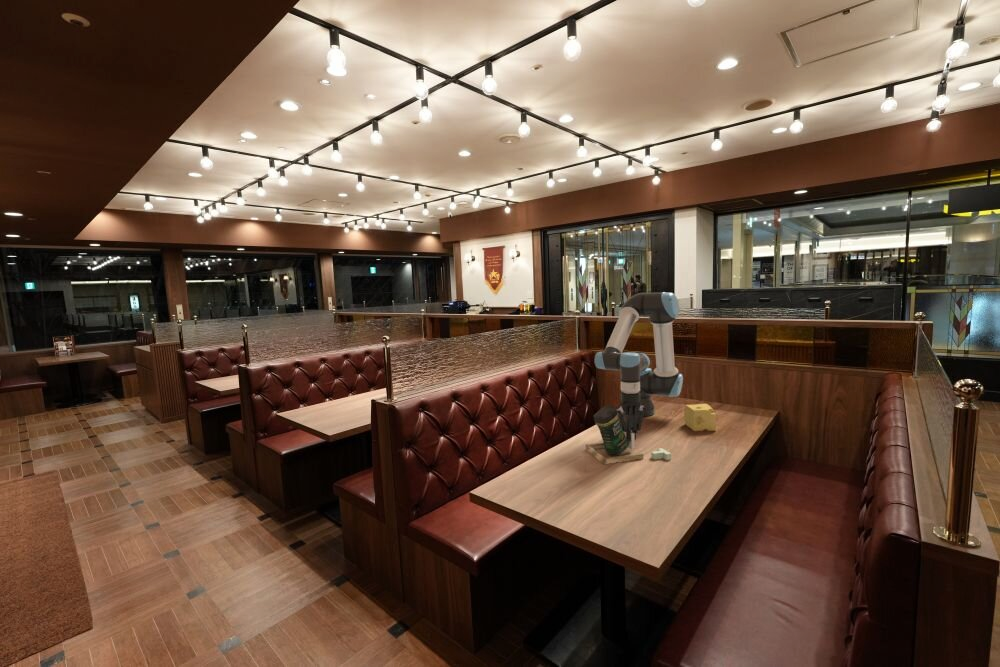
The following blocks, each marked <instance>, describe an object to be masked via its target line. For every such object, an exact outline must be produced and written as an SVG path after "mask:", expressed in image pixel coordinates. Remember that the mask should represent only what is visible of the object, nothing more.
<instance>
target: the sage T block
mask: <svg viewBox="0 0 1000 667" xmlns="http://www.w3.org/2000/svg"><path fill="white" fill-rule="evenodd" d="M671 453H672V452H669V451H668V450H666V449H664V448H662V447H661V448H657V450H655V451H651V453H650V454H651V455H650V457H651V459H653V460H660V459H663V460H666V461H670V460H672V454H671Z"/></svg>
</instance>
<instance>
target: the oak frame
mask: <svg viewBox="0 0 1000 667" xmlns="http://www.w3.org/2000/svg"><path fill="white" fill-rule="evenodd" d="M585 449H586V450H587V452H588V453H590V455H592V456H593V457H594V458H596V459H597V460H598V461H599V462H600V463H601V462H602V463H601V464H602V465H610V464H609V463H611V464H616V462H618V463H623V461H624V462H630V460H631V461H637V460H636V459H638V460H643V459H644V453H643V452H638V453H631V454H625V455H616V456H612V457H610V456H609V457H604V456H603V455H602V454H600V453H599V452H598V451H597V450H598V449H605V447H604V443H603V441H602V442H597V443H596V442H595V443H590V444H589V443H587V444H585Z"/></svg>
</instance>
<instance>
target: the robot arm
mask: <svg viewBox="0 0 1000 667" xmlns="http://www.w3.org/2000/svg"><path fill="white" fill-rule="evenodd" d="M679 309H680V306H679V300H678V298H677V296H676V294H675V293H673V292H665V291H663V292H662V291H661V292H639V293H636V294H634V295H631V297H630V298H628V299H627V300H626V301H625V302H623V305H621V307H620V309H619V311H618V316H619V317H618V319H617V321H616V323H615V326H614V328H613V330H612V333H611V334H610V337H609V339H608V341H607V343H606V346H605V348H604V349H603V351H597V353H596V354H595V356H594V365H595V367H596V368H597V369H600V370H605V371H606V370H609V371H619V372H620V390H621V391H620V401H621V403H620V407H619V408H615V409H616V411H617V413H618V419H619V422H620V425H621V427H622V429H623V431H624V433H625V435H626V437H627V439H628V442H629V446H628V447H627V448H629V449H630V450H635V445H636V444H635V441H636V440H637V434H638V433H639V432H638V431H641V429H642V423H643V420H644V417H649V416H653V415H655V413H656V409H655V404H654V402H653V399H652V395H653V396H654V395H655V396H662V397H669V398H670V397H673V398H676V397H679V395H680V394H681V391H682V388H683V381H684V376H683V374H682V373H679V369H678V368H677V367H676V366H675V365H676V364H675V362H676V361H675V352H674V349H675V348H674V336H673V335H674V334H673V323H674V322H675V321H676V318H677V317H678V316H679V312H680V311H679ZM640 318H648V320H649V323H650V324H651V325H652V329H653V330H652V331H653V340H654V354H655V365H656V367H655V368H654V369H653V371H652V368H650V364H651V360H650V358H649V356H648V355H647V354H645V353H644V352H623V351H624V349H625V347H626V344H627V341H628V340H629V337H630V335H631V333H632V329H633V328H634V325H635V324H636V322H637V321H639V319H640ZM623 413H624V414H623Z"/></svg>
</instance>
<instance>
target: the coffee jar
mask: <svg viewBox="0 0 1000 667" xmlns="http://www.w3.org/2000/svg"><path fill="white" fill-rule="evenodd" d="M616 409H617V408H616V407H614V406H613V405H608V404H607V405H605V406H603V407H601V408H600V409H599V410H598V411H597V412H595V414H593V420H594V423H595V425H596V426H597V428H598V429H599V433H600V436H601V439H602V442H603V443H604V447H605V448H604V450H605V453H607V454H608V455H610V456H611V455H612V456H620V454H622V453H623V452H624V451H625V450H627V448H629V447H628V446H629V442H628V439H627V437H626V432H624V431H623V429H622V427H621V425H620V421H619V418H618V413H617V411H616Z"/></svg>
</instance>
